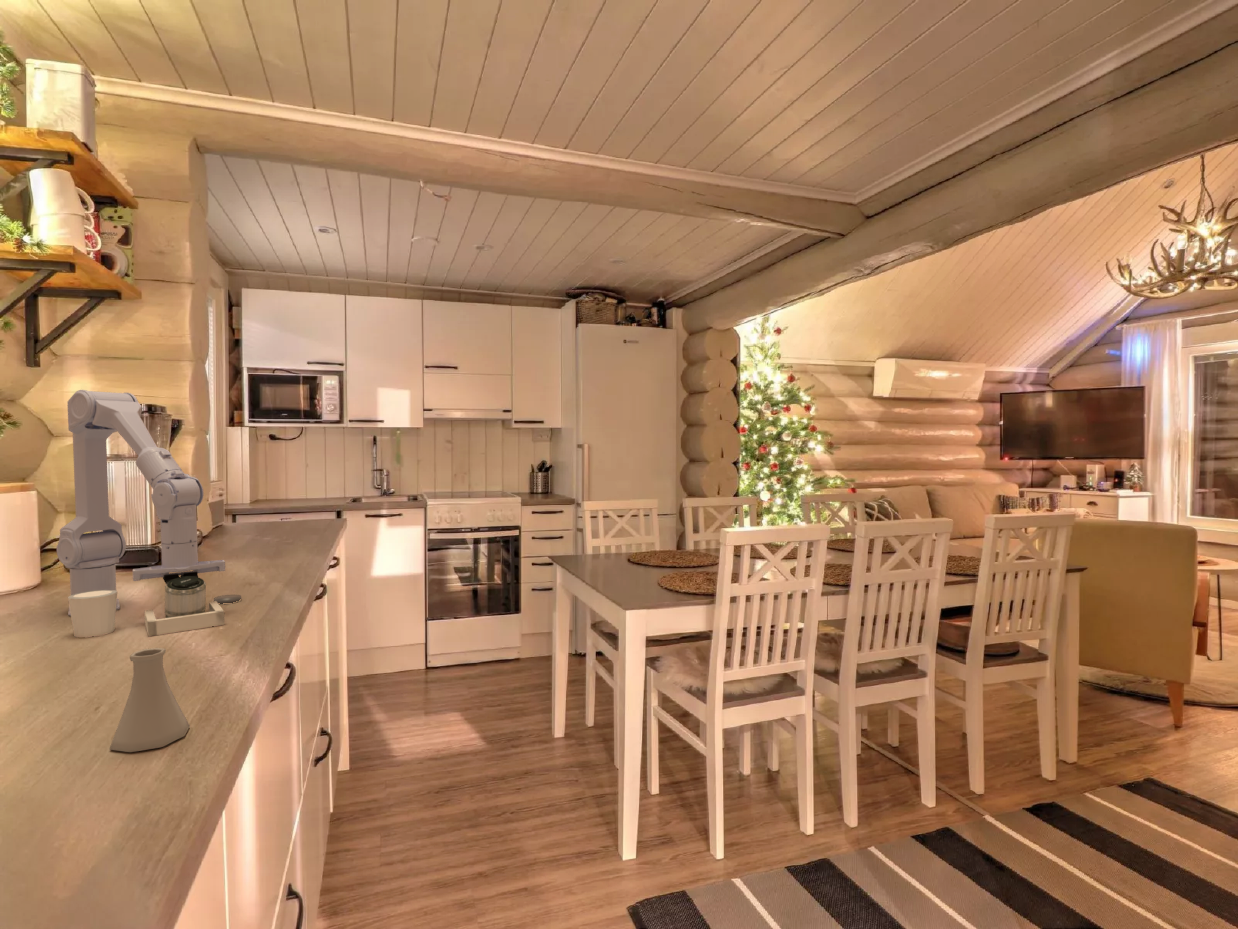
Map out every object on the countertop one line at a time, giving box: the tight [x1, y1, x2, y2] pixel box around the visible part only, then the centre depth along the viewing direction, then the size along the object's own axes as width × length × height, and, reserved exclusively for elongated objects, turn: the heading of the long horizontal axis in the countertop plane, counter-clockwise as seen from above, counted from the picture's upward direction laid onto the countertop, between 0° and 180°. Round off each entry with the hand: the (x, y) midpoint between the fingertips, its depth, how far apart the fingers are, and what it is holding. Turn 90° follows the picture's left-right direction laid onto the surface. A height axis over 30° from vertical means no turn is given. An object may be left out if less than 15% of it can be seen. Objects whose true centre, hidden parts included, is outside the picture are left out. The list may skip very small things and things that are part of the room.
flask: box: [109, 647, 191, 753], centre depth 75 cm, size 7×7×10 cm
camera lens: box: [164, 576, 207, 618], centre depth 122 cm, size 6×6×8 cm
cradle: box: [144, 600, 225, 637], centre depth 122 cm, size 10×11×2 cm
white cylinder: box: [67, 589, 118, 638], centre depth 117 cm, size 7×7×7 cm
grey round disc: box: [213, 594, 242, 604], centre depth 140 cm, size 5×5×1 cm
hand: (181, 613), depth 126 cm, fingers closed, pressing on camera lens
